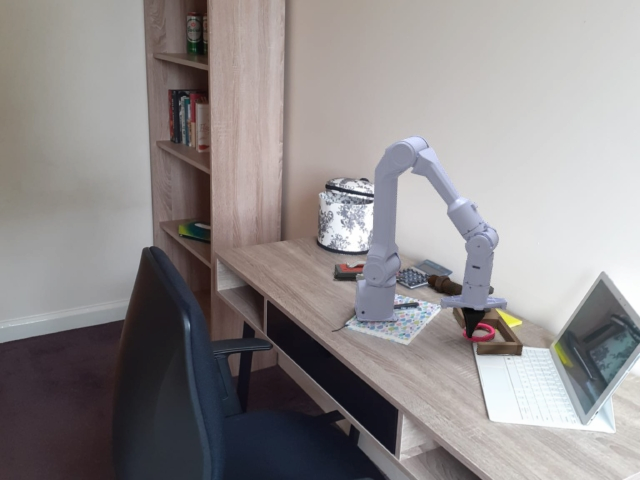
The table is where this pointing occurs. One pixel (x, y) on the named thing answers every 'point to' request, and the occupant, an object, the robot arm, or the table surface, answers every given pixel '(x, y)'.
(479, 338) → the fitness band
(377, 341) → the table surface
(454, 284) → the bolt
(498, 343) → the notched board
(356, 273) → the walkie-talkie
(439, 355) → the table surface
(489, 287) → the spool
